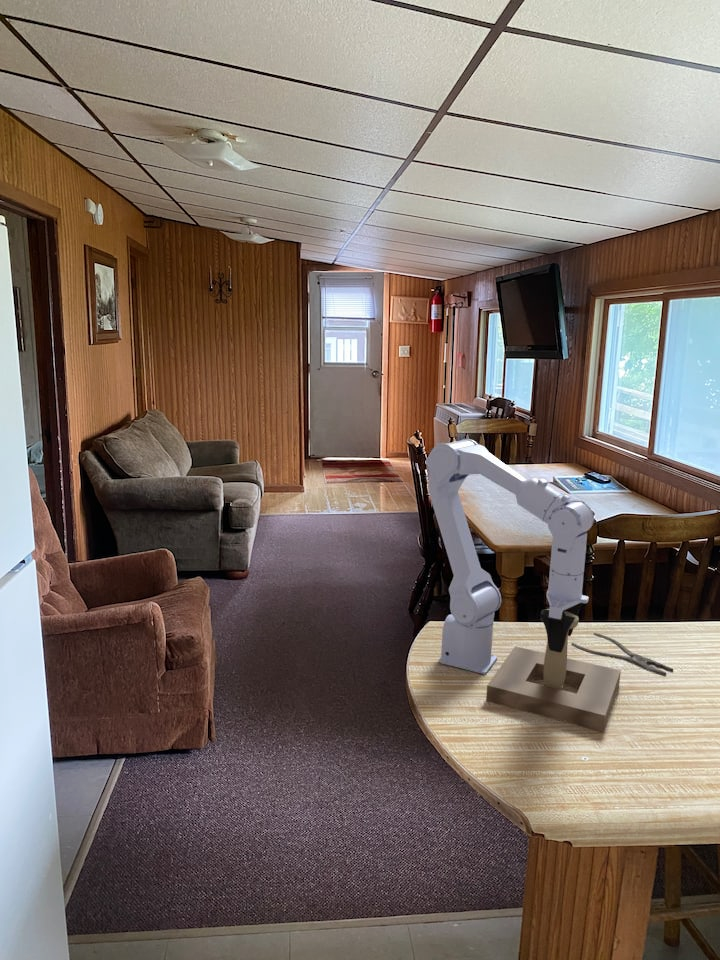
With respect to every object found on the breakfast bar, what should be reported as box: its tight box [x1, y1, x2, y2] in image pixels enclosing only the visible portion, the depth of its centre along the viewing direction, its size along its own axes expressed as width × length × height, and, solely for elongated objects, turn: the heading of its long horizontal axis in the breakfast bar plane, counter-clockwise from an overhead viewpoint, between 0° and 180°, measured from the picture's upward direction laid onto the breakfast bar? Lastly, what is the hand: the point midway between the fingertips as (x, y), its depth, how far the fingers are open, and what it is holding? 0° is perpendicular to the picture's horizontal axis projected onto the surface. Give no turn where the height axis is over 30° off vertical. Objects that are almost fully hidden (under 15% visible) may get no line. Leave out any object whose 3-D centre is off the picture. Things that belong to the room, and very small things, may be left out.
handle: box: [540, 608, 580, 690], centre depth 127 cm, size 5×6×15 cm
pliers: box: [571, 632, 674, 676], centre depth 145 cm, size 10×1×20 cm
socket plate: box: [485, 646, 622, 733], centre depth 128 cm, size 20×18×3 cm
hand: (560, 642), depth 126 cm, fingers open, 7 cm apart
